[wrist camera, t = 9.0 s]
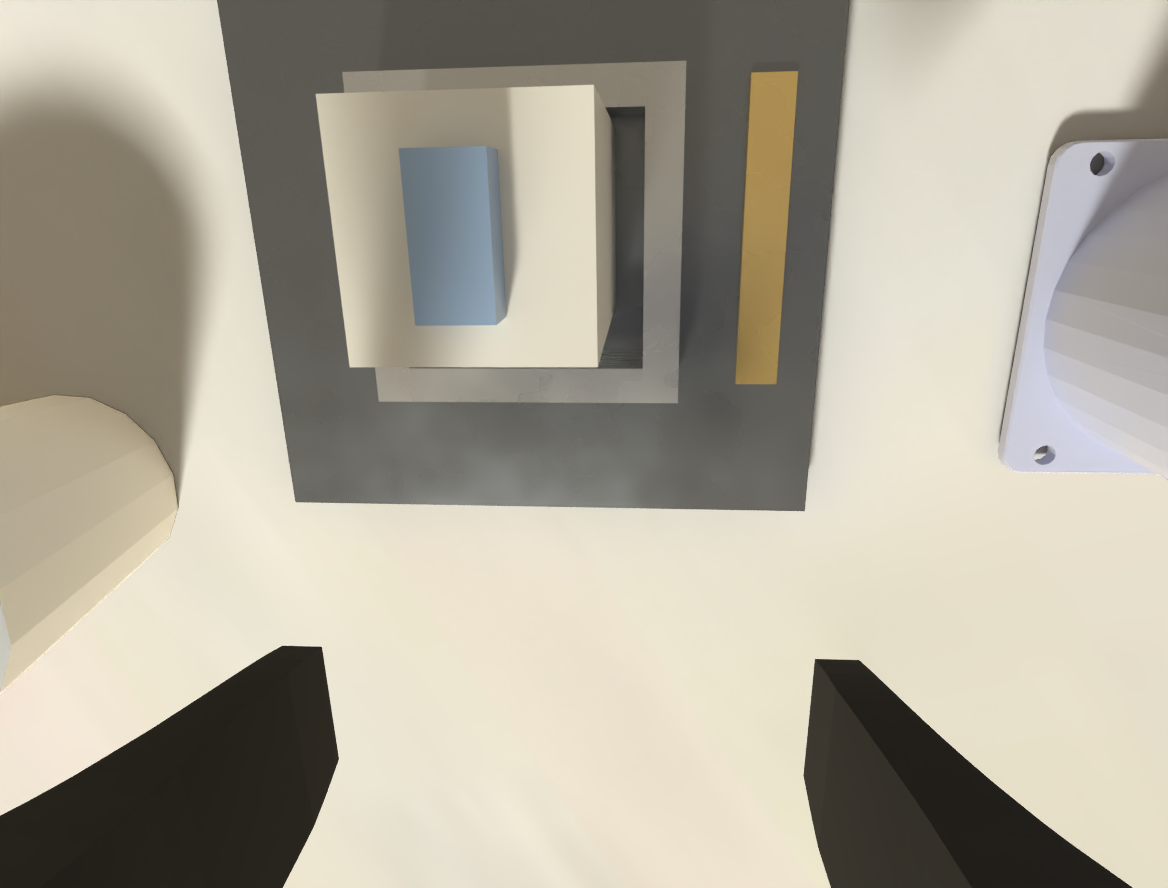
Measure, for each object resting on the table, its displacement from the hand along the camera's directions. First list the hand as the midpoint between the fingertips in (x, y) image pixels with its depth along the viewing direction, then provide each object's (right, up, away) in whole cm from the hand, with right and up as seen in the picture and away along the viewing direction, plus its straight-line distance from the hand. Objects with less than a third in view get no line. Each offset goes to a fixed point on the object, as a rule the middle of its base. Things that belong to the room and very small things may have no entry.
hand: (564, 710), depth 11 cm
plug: (-1, +9, +7) cm, 12 cm away
